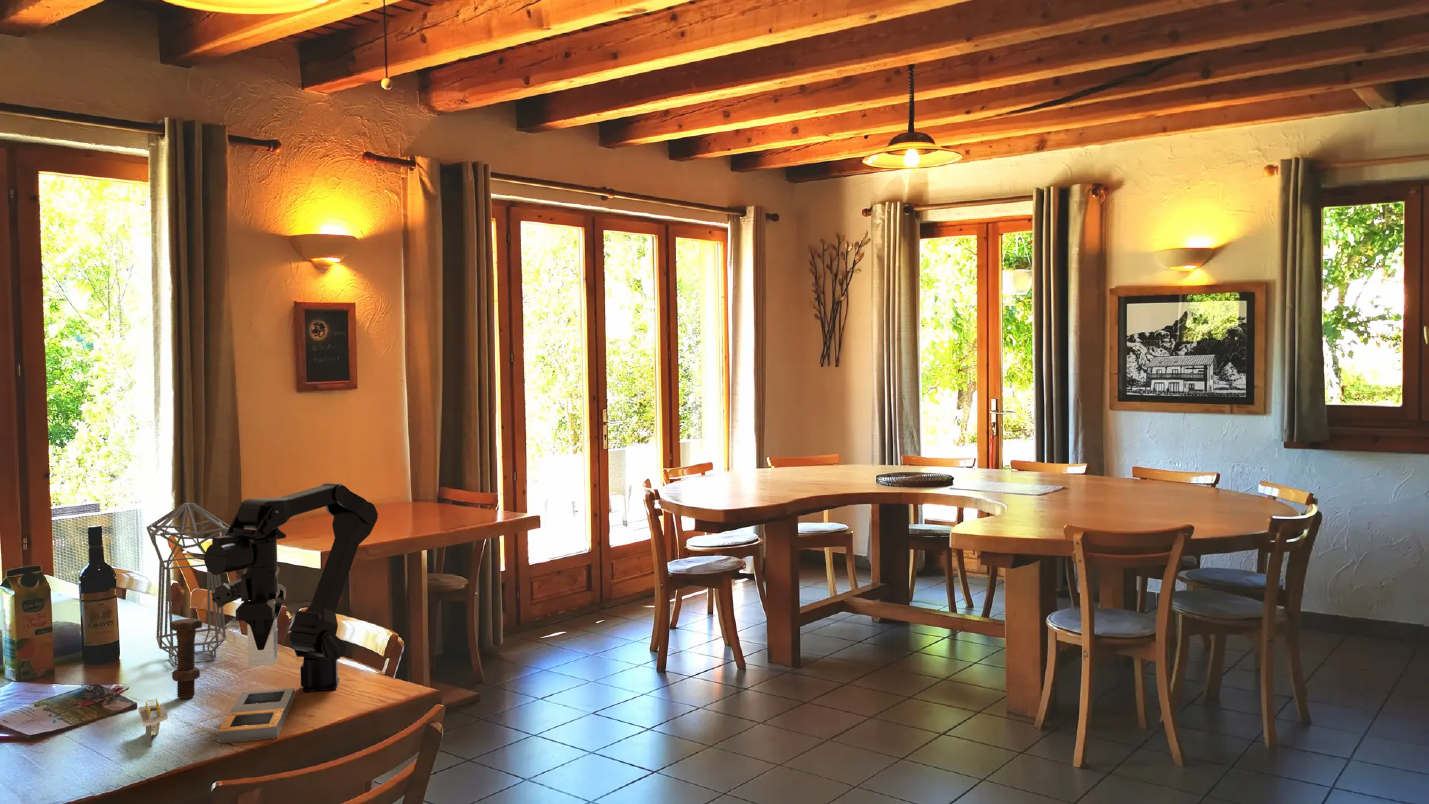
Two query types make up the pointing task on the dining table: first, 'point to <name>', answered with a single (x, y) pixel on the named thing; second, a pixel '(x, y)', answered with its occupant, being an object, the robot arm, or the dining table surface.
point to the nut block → (270, 650)
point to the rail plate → (256, 715)
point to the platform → (150, 721)
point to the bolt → (185, 656)
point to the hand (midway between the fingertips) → (263, 646)
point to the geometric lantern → (158, 528)
